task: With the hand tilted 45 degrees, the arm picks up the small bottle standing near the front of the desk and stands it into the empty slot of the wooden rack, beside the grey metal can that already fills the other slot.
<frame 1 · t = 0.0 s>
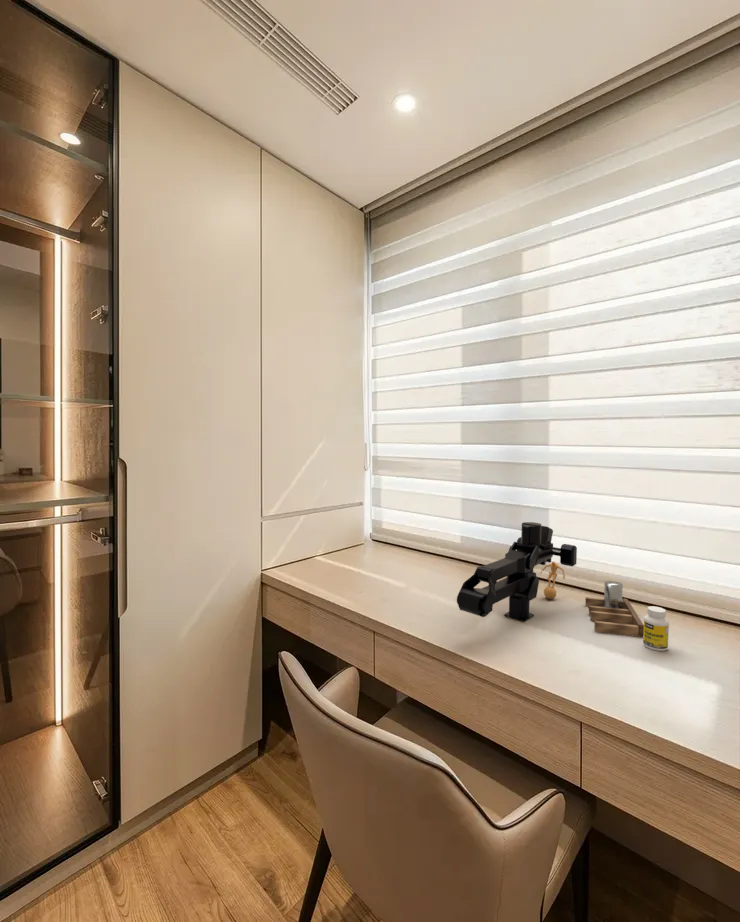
hand: (556, 546, 155), 17 cm above the table, tool horizontal, fingers open, 9 cm apart
grey can: (612, 612, 141), resting in wooden rack
wooden rack: (620, 628, 129), on the table
supplement bottle: (655, 647, 118), on the table
figurine: (551, 598, 153), on the table
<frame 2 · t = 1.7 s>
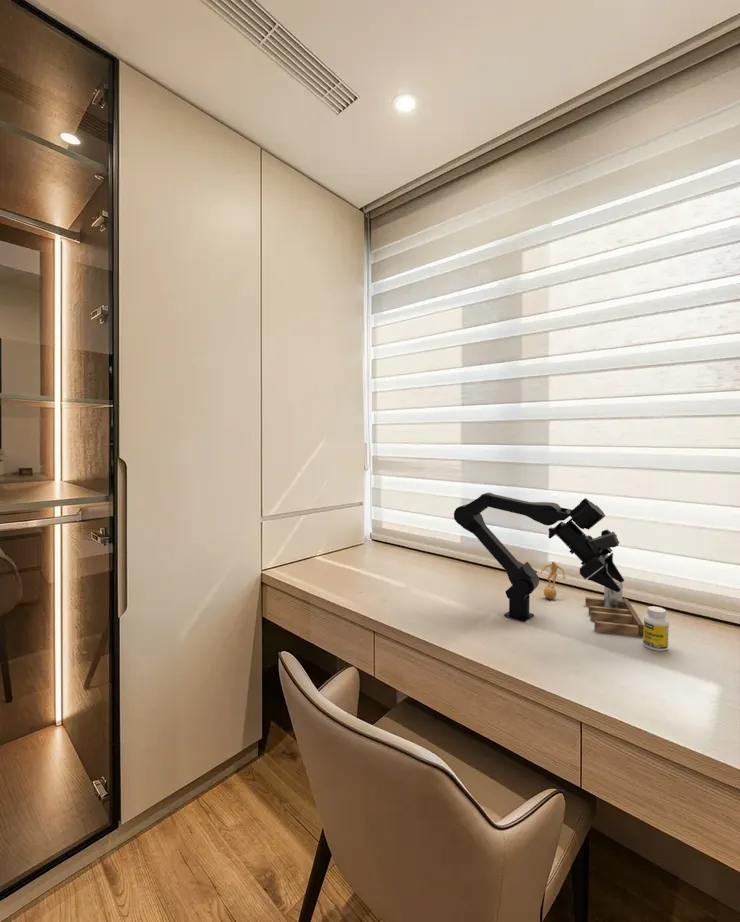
hand: (621, 586, 123), 14 cm above the table, tool tilted 45°, fingers open, 9 cm apart
nothing on the table moved.
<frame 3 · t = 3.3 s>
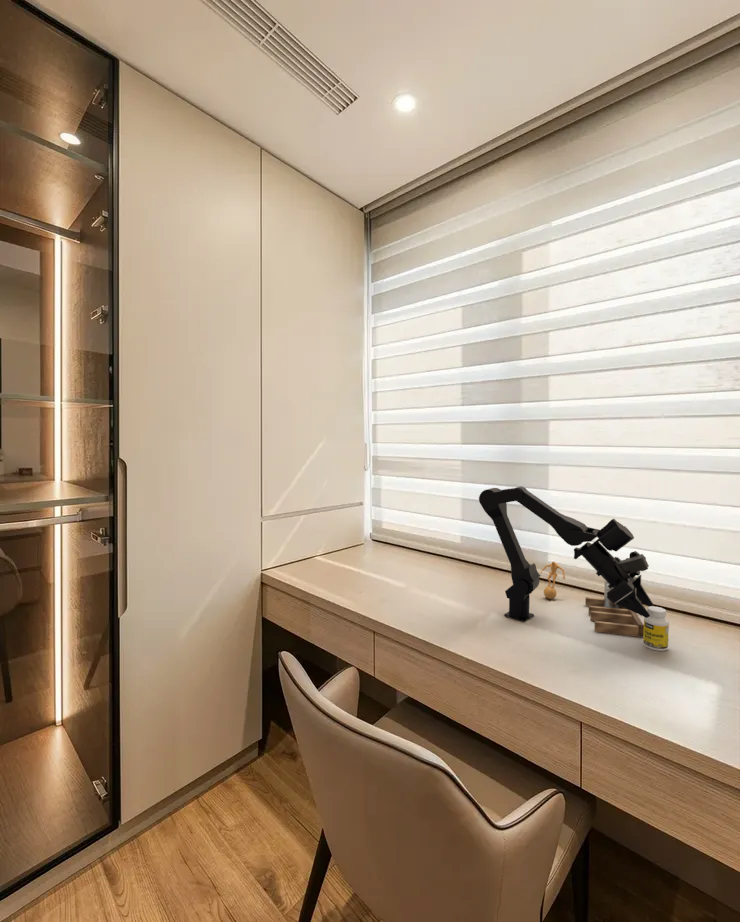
hand: (650, 611, 118), 9 cm above the table, tool tilted 45°, fingers open, 9 cm apart
nothing on the table moved.
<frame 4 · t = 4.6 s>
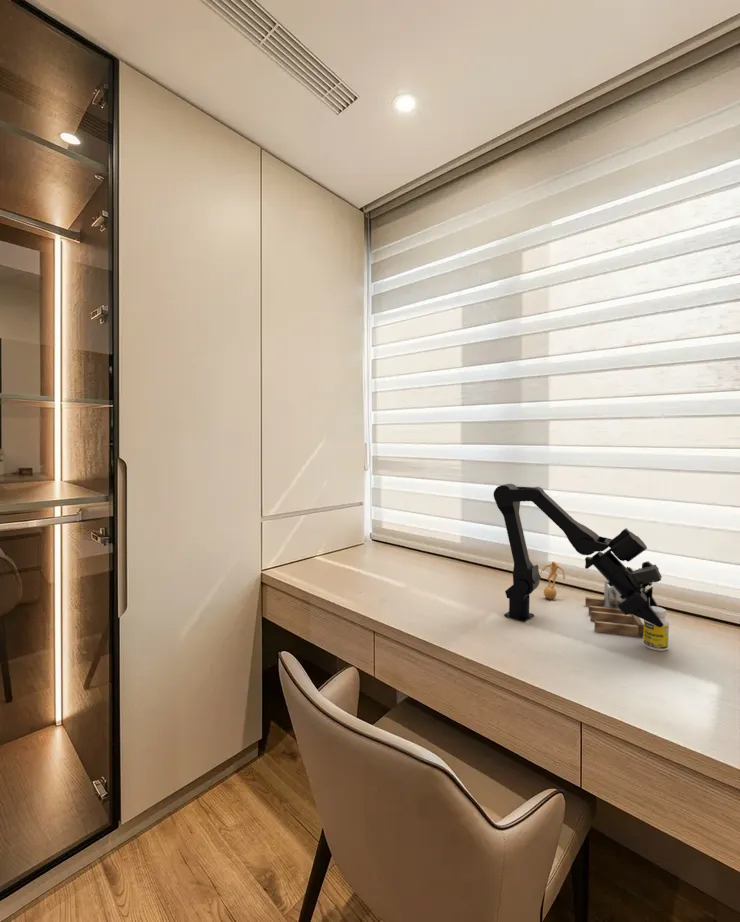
hand: (662, 622, 117), 7 cm above the table, tool tilted 45°, fingers closed on supplement bottle, 5 cm apart
supplement bottle: (655, 647, 118), on the table, touching gripper
everything else where it was.
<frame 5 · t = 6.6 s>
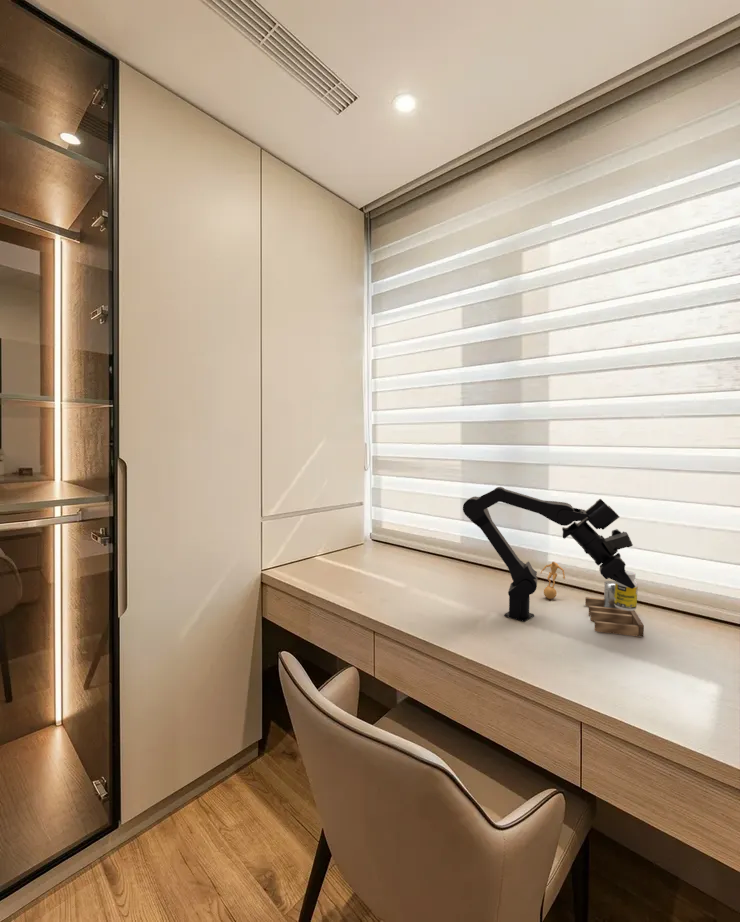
hand: (631, 584, 127), 13 cm above the table, tool tilted 45°, fingers closed on supplement bottle, 5 cm apart
supplement bottle: (625, 608, 127), point 6 cm above the table, touching gripper
everything else where it was.
when the fingers open (7 cm above the table, at t = 8.6 s): supplement bottle stays where it is, resting in wooden rack.
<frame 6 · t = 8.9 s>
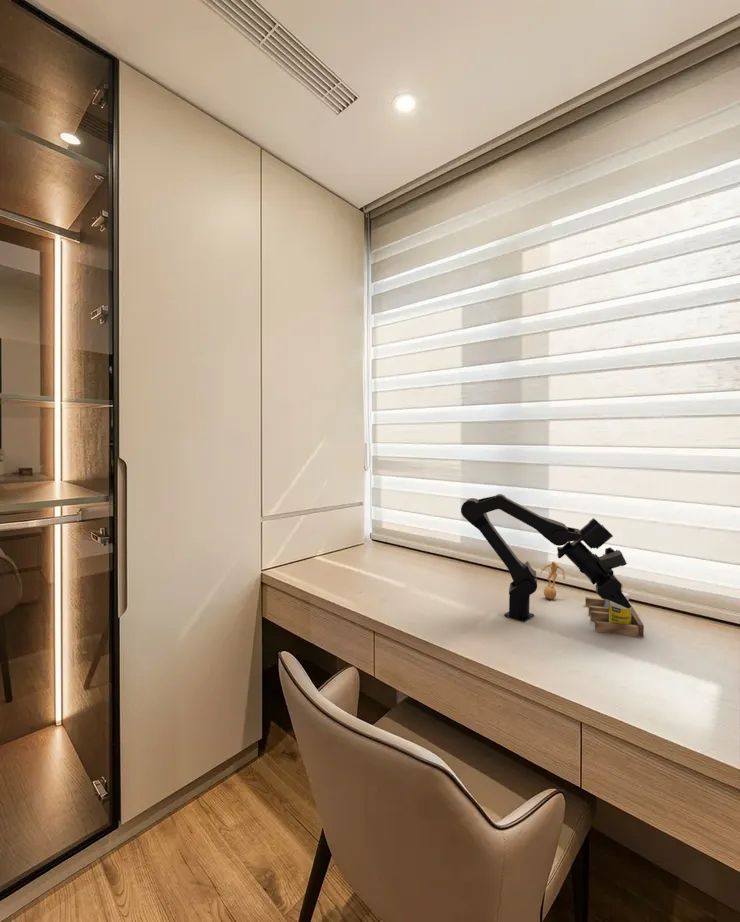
hand: (626, 602, 129), 8 cm above the table, tool tilted 45°, fingers open, 8 cm apart
supplement bottle: (619, 628, 129), resting in wooden rack
everything else where it was.
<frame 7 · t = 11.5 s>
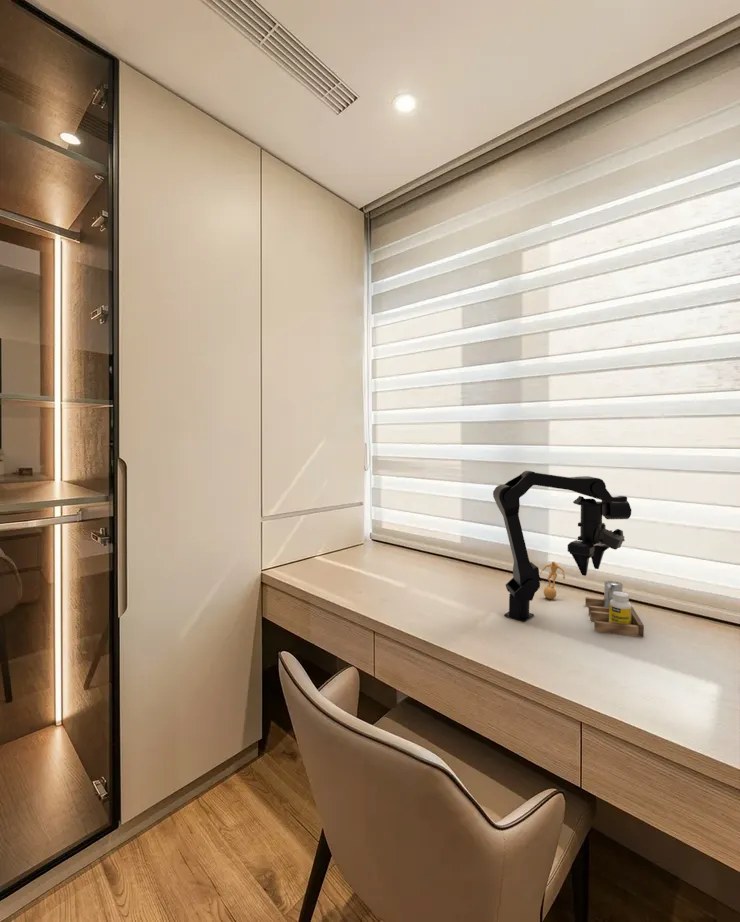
hand: (590, 572, 137), 13 cm above the table, tool pointing down, fingers open, 9 cm apart
nothing on the table moved.
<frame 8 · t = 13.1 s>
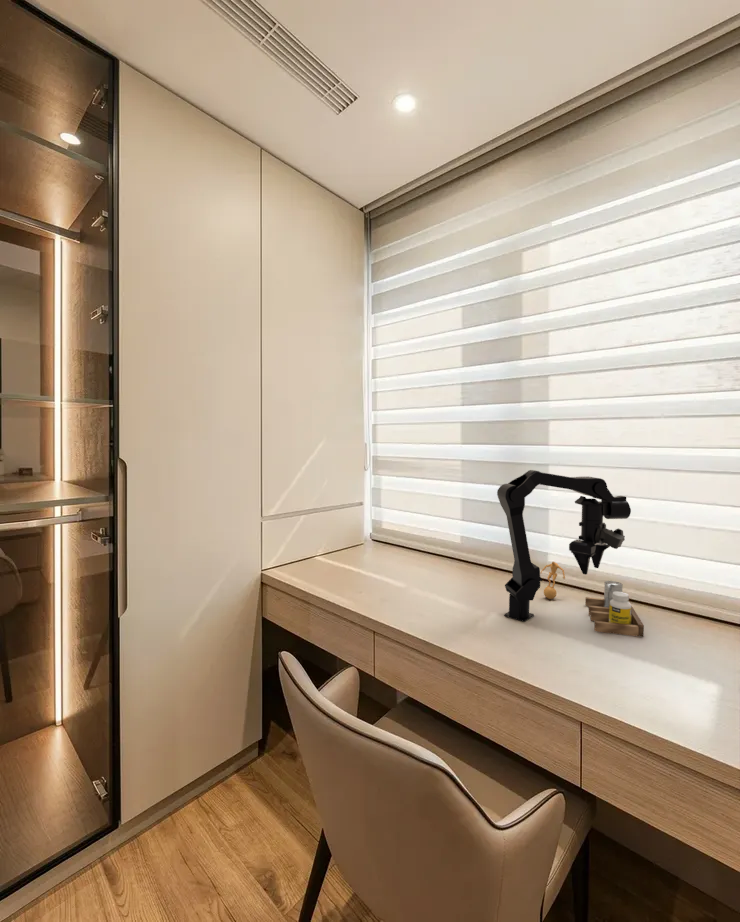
hand: (590, 571, 139), 13 cm above the table, tool pointing down, fingers open, 9 cm apart
nothing on the table moved.
at the end: supplement bottle 0.2 cm off-centre on the wooden rack, point 0.0 cm above the wooden rack's base; supplement bottle tilted 0°; the gripper is holding nothing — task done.
